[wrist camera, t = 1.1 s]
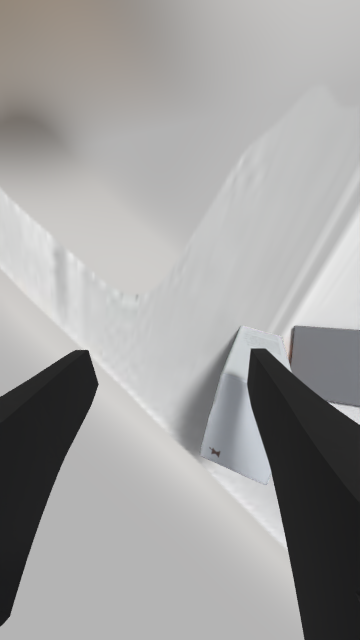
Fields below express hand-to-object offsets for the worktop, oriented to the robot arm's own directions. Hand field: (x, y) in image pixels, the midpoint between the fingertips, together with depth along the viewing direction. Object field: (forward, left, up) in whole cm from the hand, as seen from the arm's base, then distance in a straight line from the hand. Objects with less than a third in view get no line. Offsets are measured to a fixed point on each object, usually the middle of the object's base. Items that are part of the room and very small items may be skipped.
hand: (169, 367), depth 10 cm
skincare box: (-5, -3, -15) cm, 16 cm away
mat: (-5, -12, -15) cm, 19 cm away
